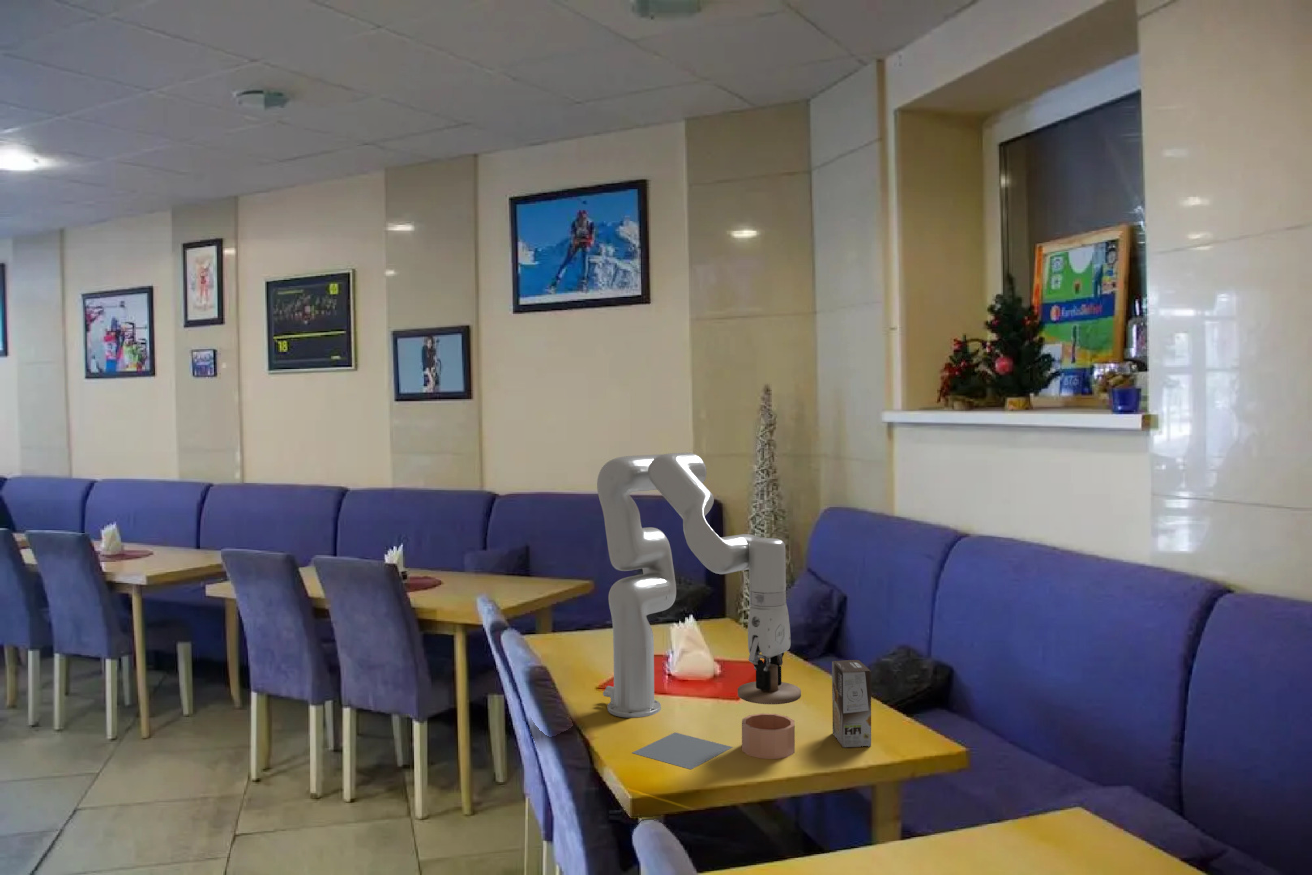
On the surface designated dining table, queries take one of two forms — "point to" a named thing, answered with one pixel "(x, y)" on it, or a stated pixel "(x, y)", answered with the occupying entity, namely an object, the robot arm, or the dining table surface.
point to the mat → (682, 750)
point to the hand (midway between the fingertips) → (768, 685)
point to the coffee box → (851, 703)
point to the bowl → (768, 736)
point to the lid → (770, 691)
